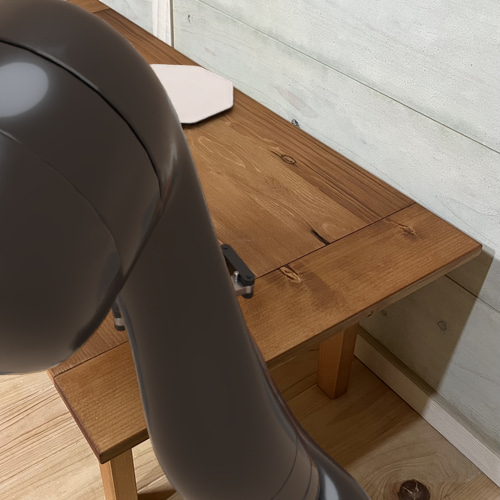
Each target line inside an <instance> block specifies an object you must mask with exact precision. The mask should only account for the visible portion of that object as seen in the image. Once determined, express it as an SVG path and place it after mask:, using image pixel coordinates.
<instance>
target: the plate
mask: <svg viewBox="0 0 500 500" xmlns="http://www.w3.org/2000/svg"><path fill="white" fill-rule="evenodd" d="M149 65H150V66H151V67H152V69H153V70H154V72H155V73H156V75H157V77H158V78H159V80H160V81H161V83H162V85H163V86H164V88H165V90H166V92H167V94H168V96H169V98H170V100H171V102H172V104H173V106H174V108H175V110H176V113H177V115H178V117H179V120H180V123H181V125H193V124H197V123H199V122H202V121H204V120H206V119H209V118H211V117H213V116H217V115H218V114H222V113H223V112H225V111H227V110H230V109H232V107H233V106H234V84H233V82H232V81H231V80H230V79H227V78H225V77H223V76H221V75H218V74H216V73H214V72H212V71H210V70H208V69H206V68H203V67H202V66H199V65H187V64H184V65H182V64H165V63H164V64H163V63H151V64H150V63H149Z"/></svg>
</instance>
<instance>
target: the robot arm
mask: <svg viewBox="0 0 500 500" xmlns="http://www.w3.org/2000/svg"><path fill="white" fill-rule="evenodd" d="M208 206H209V205H208V202H207V199H206V195H205V192H204V189H203V186H202V182H201V179H200V176H199V172H198V169H197V166H196V163H195V159H194V157H193V154H192V150H191V146H190V145H189V142H188V138H187V136H186V133H185V131H184V128H183V124H181V123H180V120H179V117H178V115H177V113H176V110H175V108H174V106H173V104H172V102H171V100H170V98H169V96H168V94H167V92H166V90H165V88H164V86H163V85H162V83H161V81H160V80H159V78H158V77H157V75H156V73H155V72H154V70H153V69H152V67H151V66H150V63H149V62H148V61H147V60H146V58H145V57H143V55H142V54H141V53H140V51H138V49H137V48H136V47H135V46H134V44H133V43H132V42H131V41H130V40H129V39H128V38H126V37H125V36H124V35H123V34H122V33H120V31H119V30H117V29H116V28H114V27H113V25H111V24H110V23H109V22H107V21H106V20H105V19H103V17H102V18H101V17H99V16H98V15H96V14H94V13H93V12H91V11H89V10H88V9H86V8H84V7H82V6H81V5H79V4H76V3H73V2H71V1H68V0H0V376H23V375H24V376H25V375H31V374H39V373H42V372H46V371H49V370H52V369H55V368H57V367H60V366H62V365H63V364H65V363H66V362H68V361H69V360H71V359H72V358H75V356H76V355H77V354H78V353H79V352H80V351H81V350H82V349H83V348H84V347H85V346H86V345H87V344H88V343H89V342H90V340H91V339H92V338H93V336H94V335H95V334H96V332H98V330H99V329H100V327H101V326H102V324H103V323H104V321H105V320H106V319H107V317H108V315H109V314H110V312H111V313H112V314H111V315H112V320H113V325H114V326H113V327H114V329H115V330H116V331H118V332H124V331H125V332H126V335H127V340H128V344H129V349H130V352H131V356H132V360H133V365H134V371H135V375H136V382H137V388H138V392H139V398H140V403H141V409H142V413H143V418H144V423H145V426H146V430H147V434H148V437H149V441H150V444H151V446H152V447H151V448H152V450H153V454H154V455H155V458H156V460H157V463H158V464H159V467H160V469H161V470H162V472H163V474H164V475H165V477H166V479H167V481H168V483H169V484H170V485H171V486H172V488H173V489H174V490H175V492H176V493H177V494H178V495H179V496H180V497H181V498H182V499H183V500H372V498H371V497H370V495H369V494H368V492H367V491H366V490H365V488H364V487H363V486H362V485H361V484H360V483H359V482H358V481H357V479H356V478H355V477H354V476H353V475H352V474H351V473H350V472H348V471H347V469H345V468H344V467H343V466H342V465H341V464H340V463H339V462H338V461H336V459H334V458H333V457H332V455H330V453H328V452H327V451H326V450H325V449H324V448H323V447H322V446H320V445H319V444H318V442H316V440H315V439H314V438H313V437H312V436H311V435H310V433H309V432H308V431H307V430H306V429H305V428H304V426H302V424H301V423H300V422H299V420H298V419H297V417H296V416H295V415H294V413H293V411H292V409H291V408H290V406H289V405H288V403H287V401H286V399H285V398H284V396H283V394H282V392H281V390H280V388H279V387H278V385H277V383H276V381H275V380H274V378H273V376H272V374H271V372H270V369H269V367H268V364H267V362H266V359H265V357H264V354H263V352H262V350H261V348H260V346H259V345H258V343H257V341H256V339H255V337H254V336H253V334H252V332H251V330H250V329H249V326H248V324H247V322H246V321H247V320H246V318H245V315H244V312H243V310H242V307H241V304H240V301H239V298H238V297H239V296H240V297H242V298H243V299H245V300H250V299H252V298H253V297H254V294H255V285H256V274H254V272H253V271H252V270H251V269H250V267H249V266H248V265H247V264H246V262H245V261H244V260H243V259H242V258H241V256H240V255H239V254H238V253H237V252H236V250H235V249H234V248H233V247H232V246H231V245H230V244H228V243H222V244H221V243H220V240H219V238H218V235H217V232H216V228H215V225H214V221H213V219H212V215H211V212H210V208H209V207H208Z"/></svg>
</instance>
